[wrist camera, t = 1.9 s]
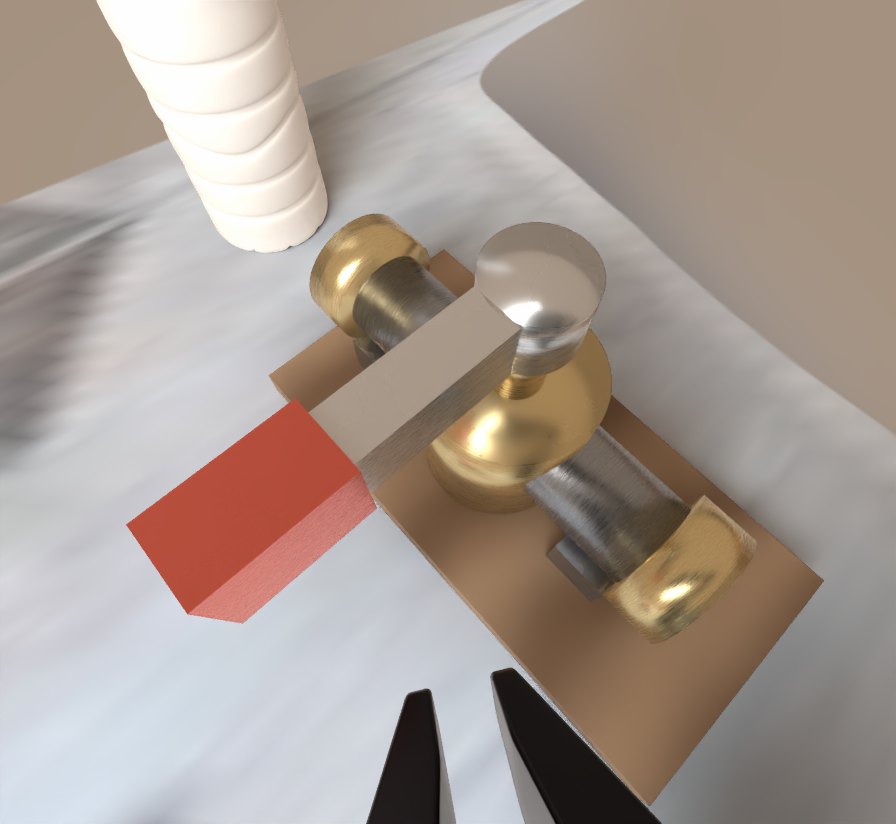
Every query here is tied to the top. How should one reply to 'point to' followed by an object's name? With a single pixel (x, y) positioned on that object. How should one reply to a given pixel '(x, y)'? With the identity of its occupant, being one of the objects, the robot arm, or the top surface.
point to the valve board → (565, 608)
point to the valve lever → (367, 428)
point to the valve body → (542, 447)
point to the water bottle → (229, 112)
